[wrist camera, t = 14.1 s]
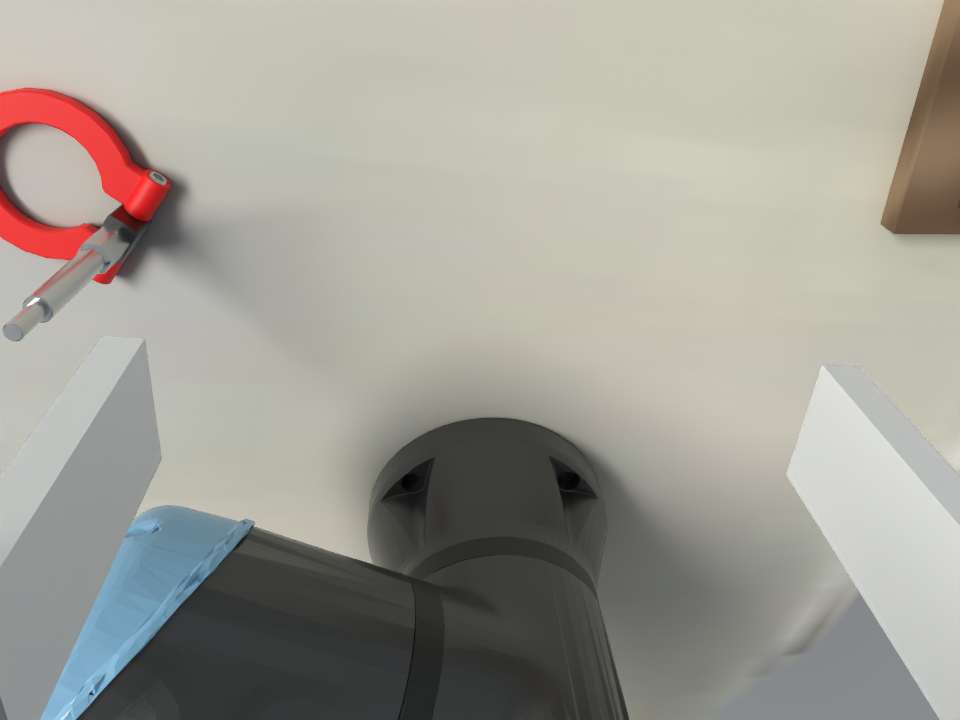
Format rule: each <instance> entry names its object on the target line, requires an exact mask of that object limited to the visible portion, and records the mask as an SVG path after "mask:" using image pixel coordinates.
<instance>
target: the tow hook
mask: <svg viewBox="0 0 960 720" xmlns="http://www.w3.org/2000/svg"><path fill="white" fill-rule="evenodd" d="M24 123H40V124H46V125H49V126H52V127H55V128H58V129H60V130H62V131H64V132H65V133H67V134H69V135H70V136H72V137H74V138H75V139H76V140H77V141H78V142H79V143H80V144H81V145H82V146H83V147H84V148H85V149H86V150H87V151H88V152H89V154H90V155H91V157H92V158H93V160H94V161H95V163H96V165H97V168H98V170H99V173H100V175H101V180H102V188H103V190H104V191H105V193H107V194H108V195H110V196H111V197H113V198H114V199H116V200H117V201H119V202H120V203H122V205H120V206H119V207H118V208H117V209H116V210H114V211H113V212H112V213H111V214H110V215H108V217H107V218H106V220H105V222H104V223H103V225H102V227H101V228H100V229H97V228H96V227H94V226H93V225H91V224H82V225H80V226H76V227H70V228H57V227H50V226H47V225H44V224H41V223H37V222H36V221H34V220H32V219H30V218H29V217H27V216H25V215H23V214H22V213H21V212H20V211H19V210H18V209H17V208H15V207H14V206H13V205H12V204H11V203H10V201H9V200H8V199H7V197H6V196H5V195H4V193H3V192H2V190H1V188H0V237H1V238H3V239H4V240H6V241H7V242H9V243H11V244H13V245H15V246H16V247H18V248H20V249H22V250H24V251H26V252H29V253H32V254H36V255H39V256H42V257H45V258H53V259H65V260H70V259H72V260H71V261H69V262H68V263H67V264H66V265H65V266H64V267H62V268H61V269H60V270H59V271H58V272H57V273H55V274H54V275H53V276H52V277H51V278H50V279H49V280H47V281H46V282H45V283H44V284H43V285H42V286H40V287H39V288H38V289H37V290H36V291H35V292H34V293H32V294H31V295H30V296H29V297H28V298H27V299H26V300H25V301H24V303H23V310H21V311H20V312H19V313H18V314H17V315H16V316H15V317H13V318H12V319H11V320H10V321H9V322H8V323H7V324H6V325H5V326H4V327H3V334H4V336H5V337H6V338H8V339H9V340H11V341H20V340H21V339H22V338H24V337H25V336H26V335H27V334H28V333H29V332H30V331H31V330H32V329H33V328H34V327H35V326H36V325H37V324H38V323H44V322H47V321H49V320H50V319H51V318H52V317H54V316H55V315H56V314H57V313H58V312H59V311H60V310H61V309H62V308H63V307H64V306H65V305H66V304H67V303H68V302H69V301H70V300H71V299H72V298H73V297H74V296H75V295H76V294H77V293H78V292H79V291H80V290H81V289H82V288H84V287H85V286H86V285H87V284H88V283H89V282H90V281H91V280H92V279H93V280H94V281H96V282H98V283H102V284H109V283H111V282H112V280H113V278H114V277H115V275H116V274H117V272H118V270H119V269H120V267H121V266H122V264H123V262H124V261H125V259H126V258H127V256H128V255H129V254H130V253H131V252H132V251H133V250H134V249H135V247H136V245H137V244H138V242H139V241H140V239H141V237H142V236H143V234H144V233H145V231H146V229H147V228H148V226H149V225H150V223H151V218H152V216H153V214H154V213H155V211H156V210H157V208H158V206H159V205H160V203H161V202H162V200H163V198H164V197H165V195H166V193H167V192H168V190H169V189H170V187H171V183H170V181H169V180H168V179H167V178H166V177H165V176H163V175H162V174H160V173H159V172H156V171H154V170H150V169H147V170H144V169H142V168H141V167H139V166H138V165H136V164H135V163H133V162H132V161H131V158H130V156H129V153H128V150H127V149H126V147H125V146H124V144H123V143H122V141H121V140H120V138H119V137H118V135H117V134H116V132H115V131H114V129H113V128H112V127H110V126H109V125H108V124H107V123H106V122H105V121H104V120H103V119H102V118H101V117H100V116H99V115H98V114H97V113H96V112H95V111H93V110H92V109H90V108H88V107H87V106H85V105H84V104H82V103H80V102H79V101H77V100H76V99H74V98H71V97H68V96H66V95H63V94H60V93H57V92H54V91H51V90H45V89H34V88H22V89H16V90H11V91H5V92H2V93H0V138H1V137H2V136H3V134H4V133H5V132H6V131H7V130H8V129H9V128H11V127H13V126H15V125H18V124H24Z"/></svg>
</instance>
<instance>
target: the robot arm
mask: <svg viewBox="0 0 960 720" xmlns="http://www.w3.org/2000/svg"><path fill="white" fill-rule="evenodd" d="M161 459H162V458H161V450H160V443H159V436H158V429H157V422H156V415H155V407H154V400H153V393H152V386H151V379H150V372H149V364H148V357H147V350H146V343H145V338H128V337H103V336H102V337H101V339H100V340H99V341H98V343H97V344H96V345H95V347H94V348H93V349H92V351H91V352H90V354H89V355H88V356H87V358H86V359H85V360H84V362H83V363H82V365H81V366H80V367H79V369H78V370H77V371H76V373H75V374H74V375H73V377H72V378H71V380H70V381H69V382H68V384H67V385H66V386H65V388H64V389H63V391H62V392H61V393H60V395H59V396H58V397H57V399H56V400H55V401H54V403H53V404H52V406H51V407H50V408H49V410H48V411H47V412H46V414H45V415H44V417H43V418H42V419H41V421H40V422H39V423H38V425H37V426H36V427H35V429H34V430H33V432H32V433H31V434H30V436H29V437H28V438H27V440H26V441H25V443H24V444H23V445H22V447H21V448H20V449H19V451H18V452H17V453H16V455H15V456H14V458H13V459H12V460H11V462H10V463H9V464H8V466H7V467H6V469H5V470H4V471H3V473H2V474H1V475H0V720H629V716H628V713H627V709H626V705H625V701H624V697H623V693H622V689H621V686H620V682H619V678H618V674H617V670H616V666H615V663H614V659H613V655H612V651H611V647H610V643H609V640H608V636H607V632H606V628H605V624H604V620H603V617H602V613H601V609H600V606H599V602H598V598H597V593H596V588H597V583H598V577H599V572H600V566H601V560H602V555H603V549H604V543H605V538H606V511H605V506H604V502H603V498H602V495H601V491H600V488H599V485H598V481H597V478H596V476H595V474H594V472H593V470H592V468H591V466H590V465H589V463H588V462H587V460H586V459H585V458H584V457H583V455H582V454H581V453H580V452H579V451H578V450H577V449H576V448H575V447H574V446H573V445H571V444H570V443H569V442H567V441H566V440H565V439H563V438H562V437H560V436H558V435H557V434H555V433H553V432H551V431H549V430H547V429H544V428H542V427H539V426H537V425H534V424H530V423H527V422H522V421H518V420H511V419H502V418H480V419H470V420H464V421H459V422H455V423H451V424H448V425H444V426H442V427H439V428H436V429H434V430H432V431H429V432H427V433H425V434H423V435H421V436H420V437H418V438H416V439H415V440H413V441H411V442H410V443H409V444H407V445H406V446H405V447H403V448H402V449H401V450H400V451H399V452H398V453H397V454H396V455H395V456H394V457H393V458H392V459H391V460H390V461H389V462H388V463H387V465H386V466H385V467H384V469H383V470H382V472H381V473H380V475H379V477H378V479H377V481H376V483H375V485H374V488H373V491H372V494H371V499H370V505H369V516H368V527H367V536H368V545H369V550H370V555H371V558H372V561H373V563H374V565H373V564H370V563H367V562H363V561H360V560H357V559H353V558H350V557H347V556H344V555H340V554H337V553H334V552H330V551H327V550H324V549H321V548H318V547H315V546H312V545H309V544H306V543H303V542H300V541H297V540H293V539H290V538H287V537H284V536H281V535H278V534H275V533H272V532H269V531H266V530H263V529H260V528H257V527H254V525H255V522H254V521H251V520H248V519H245V520H242V521H236V520H232V519H228V518H224V517H220V516H216V515H213V514H209V513H205V512H201V511H197V510H193V509H189V508H186V507H182V506H175V505H165V506H159V507H155V508H152V509H149V510H147V511H145V512H143V513H142V514H140V515H139V516H137V517H136V518H135V519H134V517H135V515H136V513H137V510H138V508H139V506H140V504H141V502H142V500H143V498H144V495H145V493H146V491H147V489H148V487H149V485H150V482H151V480H152V478H153V476H154V474H155V472H156V470H157V467H158V465H159V463H160V461H161ZM786 475H787V477H788V479H789V480H790V482H791V483H792V485H793V487H794V488H795V490H796V491H797V493H798V495H799V496H800V498H801V499H802V501H803V503H804V504H805V506H806V507H807V509H808V511H809V512H810V514H811V515H812V517H813V518H814V520H815V522H816V523H817V525H818V526H819V528H820V530H821V531H822V533H823V534H824V536H825V538H826V539H827V541H828V542H829V544H830V546H831V547H832V549H833V550H834V552H835V554H836V555H837V557H838V558H839V560H840V562H841V563H842V565H843V566H844V568H845V569H846V571H847V573H848V574H849V576H850V577H851V579H852V581H853V582H854V584H855V585H856V587H857V589H858V590H859V592H860V593H861V595H862V597H863V598H864V600H865V601H866V603H867V605H868V606H869V608H870V609H871V611H872V612H873V614H874V616H875V617H876V619H877V620H878V622H879V624H880V625H881V627H882V628H883V630H884V632H885V633H886V635H887V636H888V638H889V639H890V641H891V643H892V644H893V646H894V648H895V649H896V651H897V652H898V654H899V656H900V657H901V659H902V660H903V662H904V664H905V665H906V667H907V668H908V670H909V671H910V673H911V675H912V676H913V678H914V679H915V681H916V683H917V684H918V686H919V687H920V689H921V690H922V692H923V694H924V695H925V697H926V699H927V700H928V702H929V703H930V705H931V706H932V708H933V710H934V711H935V713H936V714H937V716H938V718H939V719H940V720H960V475H959V474H958V473H957V472H956V471H955V469H954V468H953V467H952V466H951V465H950V464H949V463H948V462H947V461H946V460H945V459H944V458H943V457H942V455H941V454H940V453H939V452H938V451H937V450H936V449H935V448H934V447H933V446H932V445H931V444H930V442H929V441H928V440H927V439H926V438H925V437H924V436H923V435H922V434H921V433H920V432H919V431H918V430H917V428H916V427H915V426H914V425H913V424H912V423H911V422H910V421H909V420H908V419H907V418H906V417H905V416H904V414H903V413H902V412H901V411H900V410H899V409H898V408H897V407H896V406H895V405H894V404H893V403H892V402H891V400H890V399H889V398H888V397H887V396H886V395H885V394H884V393H883V392H882V391H881V390H880V389H879V387H878V386H877V385H876V384H875V383H874V382H873V381H872V380H871V379H870V378H869V377H868V376H867V375H866V373H865V372H864V371H863V370H862V369H861V368H860V367H859V366H842V365H822V367H821V370H820V373H819V376H818V379H817V382H816V385H815V388H814V391H813V394H812V398H811V401H810V404H809V407H808V410H807V413H806V416H805V419H804V422H803V425H802V428H801V431H800V434H799V437H798V440H797V443H796V447H795V450H794V453H793V456H792V459H791V462H790V465H789V468H788V471H787V474H786ZM133 519H134V520H133Z"/></svg>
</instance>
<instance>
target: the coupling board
mask: <svg viewBox="0 0 960 720" xmlns="http://www.w3.org/2000/svg"><path fill="white" fill-rule="evenodd" d="M959 201H960V0H945V1H944V5H943V8H942V12H941V15H940V19H939V22H938V26H937V29H936V33H935V36H934V40H933V43H932V47H931V50H930V53H929V57H928V60H927V64H926V67H925V71H924V74H923V78H922V81H921V85H920V88H919V92H918V95H917V99H916V102H915V106H914V109H913V112H912V116H911V119H910V123H909V126H908V130H907V133H906V137H905V140H904V144H903V147H902V151H901V154H900V158H899V161H898V165H897V168H896V172H895V175H894V178H893V182H892V185H891V189H890V192H889V196H888V199H887V203H886V206H885V210H884V213H883V217H882V220H881V224H882V225H883V226H884V227H886V228H887V229H888V230H890V231H891V232H892V233H894V234H960V208H958V204H959Z"/></svg>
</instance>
